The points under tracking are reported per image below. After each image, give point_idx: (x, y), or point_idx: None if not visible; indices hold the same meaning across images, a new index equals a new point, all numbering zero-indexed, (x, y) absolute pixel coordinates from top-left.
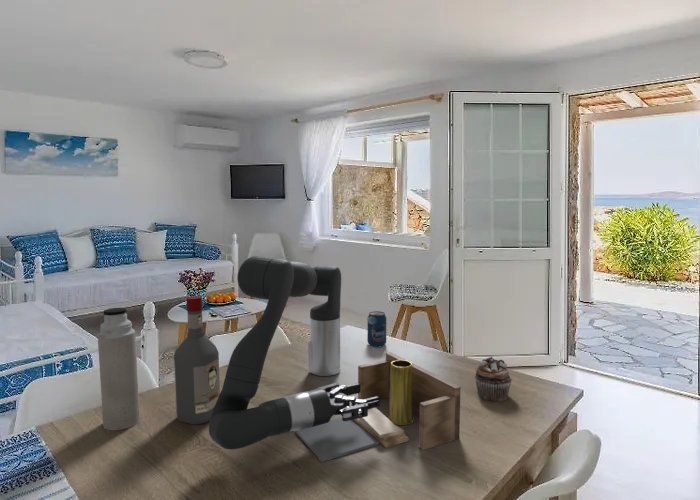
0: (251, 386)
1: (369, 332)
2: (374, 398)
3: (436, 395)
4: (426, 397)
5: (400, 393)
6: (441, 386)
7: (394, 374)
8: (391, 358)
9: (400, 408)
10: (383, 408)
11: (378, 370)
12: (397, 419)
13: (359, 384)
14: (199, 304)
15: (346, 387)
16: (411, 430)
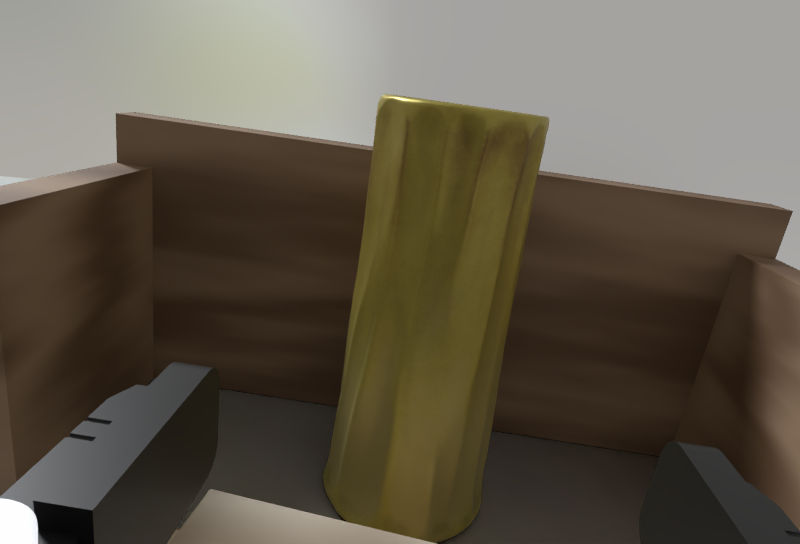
0: None
1: None
2: (751, 494)
3: (608, 282)
4: (513, 310)
5: (495, 328)
6: (665, 224)
7: (478, 188)
8: (180, 140)
9: (480, 429)
10: (214, 460)
11: (108, 227)
12: (452, 505)
13: (214, 369)
14: None
15: (69, 522)
16: (548, 527)
